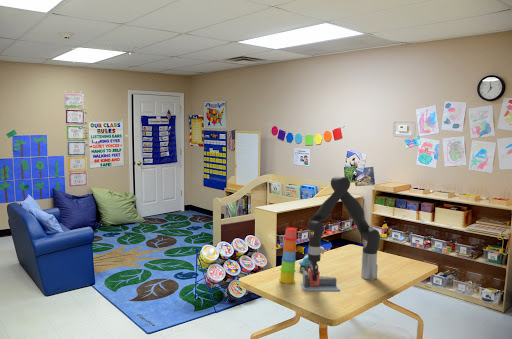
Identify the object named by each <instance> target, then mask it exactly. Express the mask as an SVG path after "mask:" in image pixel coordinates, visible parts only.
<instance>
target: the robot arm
mask: <svg viewBox="0 0 512 339" xmlns="http://www.w3.org/2000/svg"><path fill="white" fill-rule="evenodd" d="M350 186H351V180H350V179H349V178H348V177H346V176H339V175H336V176H333V177H332V178H331V180H330V187H331V189H332V190H333V191H334V192H333V193H332V194H331V195H330V196H329V197H328V198H326V200H325V201H324V202H322V204H321V205H320V207H319V209H318V210H317V211H316V213H315V214H314V215H313V216H312V217H311V218H309V220H308V222H307V229H308V230H309V231H310V232H312V233H313V234H312V235H310V236H309V239H308V250H307V251H308V252H307V255H308V260H309V261H310V269H312V272H313V281H317V275H318V270H319V263H318V262H320V261H321V257H322V256H321V255H322V253H321V247H322V246H321V244H322V243H321V242H322V240H321V239H322V237H323V234H324V229H325V226H324V223H323V222H322V221H326V220H327V219H328V218H329V216H330V214H331V213H332V211H333V210H334V208H335V206H336V205H337V204H338V203H339V201H340V202H342V204H343V206H344V207H345V210H346V211H347V214H349V217H351V219H352V221H353V223H354V224H355V226H356V227H357V229H358V233H359V234H360V236H361V238H362V239H363V240H364V241H365V242H366V245H365V246H363V247H362V256H361V274H360V275H361V278H362V279H363V280H369V281H373V280H378V263H377V262H378V250H379V247H380V239H381V238H380V232H379V230H377V229H375V228H373V227H371V226H370V225H369V224H368V222H367V221H366V218H365V217H366V216H365V211H364V209H363V206H362V205H361V204H360V202H359V200H357V199H356V198H355V197H354V196H353V195H352V194H351V193H350V192H349V189H350ZM315 272H316V273H315Z"/></svg>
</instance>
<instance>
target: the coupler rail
mask: <svg viewBox="0 0 512 339" xmlns="http://www.w3.org/2000/svg"><path fill="white" fill-rule="evenodd" d="M302 282H303V285H304V287H306V288H308V286H309V278H308V270H305V271H303V272H302ZM336 284H337V278H336V277H334V276H333V277H332V276H331V277H329V276H327V277H326V276H325V277H323V276H322V277H320V276H319V286H336Z"/></svg>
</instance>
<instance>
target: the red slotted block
mask: <svg viewBox="0 0 512 339" xmlns="http://www.w3.org/2000/svg"><path fill="white" fill-rule="evenodd" d="M307 273H308V278H309V286H319V277H320V270H319V269H318V275H317V281H313V272H312V269H308V270H307ZM315 273H316V272H315Z"/></svg>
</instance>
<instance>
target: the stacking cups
mask: <svg viewBox="0 0 512 339" xmlns="http://www.w3.org/2000/svg"><path fill="white" fill-rule="evenodd" d="M284 232H285V233H284V235H285V236H284V238H283V239H284V242H283V243H284V244H283V248H282V250H283V251H282V258H281V268H279V270H280V274H279V275H280V277H279V279H278V280H279V282H280V283H282V284H286V285H292V284H295V282H296V279H295V275H296V274H295V273H296V262H297V260H296V254H297V240H298V239H297V233H298V229H297V228H296V227H293V226H287V227H286V228H285V231H284Z"/></svg>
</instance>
